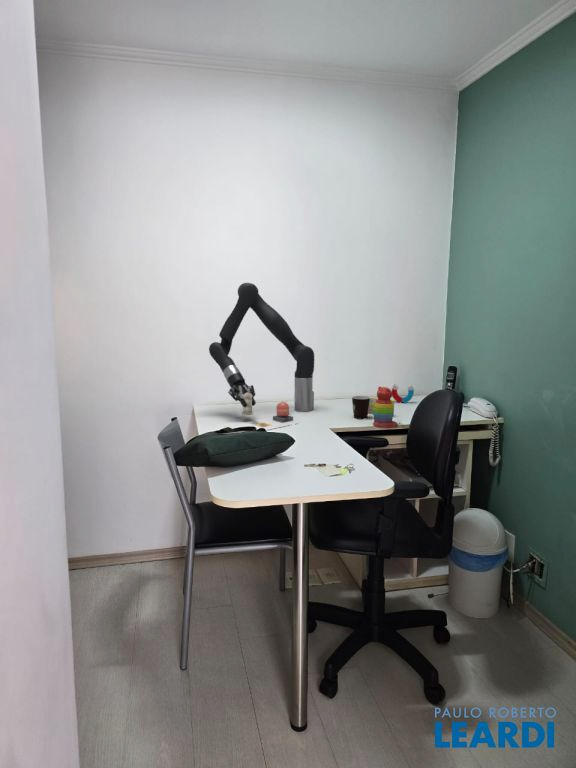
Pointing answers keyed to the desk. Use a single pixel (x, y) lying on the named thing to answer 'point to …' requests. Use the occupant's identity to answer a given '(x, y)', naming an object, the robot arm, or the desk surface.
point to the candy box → (371, 405)
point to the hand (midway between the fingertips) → (250, 405)
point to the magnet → (402, 399)
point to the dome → (282, 409)
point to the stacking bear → (384, 409)
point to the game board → (262, 424)
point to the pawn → (248, 408)
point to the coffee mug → (360, 406)
